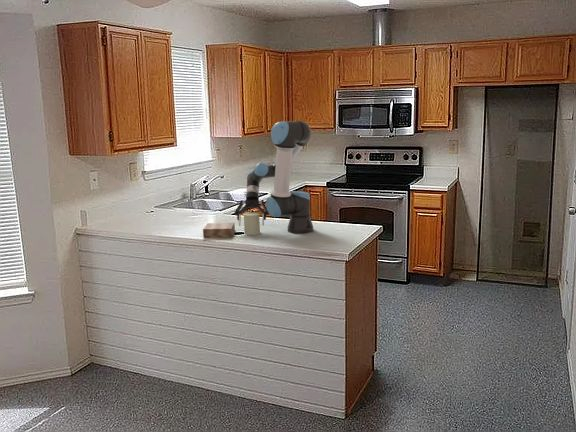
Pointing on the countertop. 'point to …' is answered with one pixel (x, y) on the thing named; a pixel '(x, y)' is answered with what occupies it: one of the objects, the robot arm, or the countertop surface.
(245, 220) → the can
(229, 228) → the plinth
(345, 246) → the countertop surface
